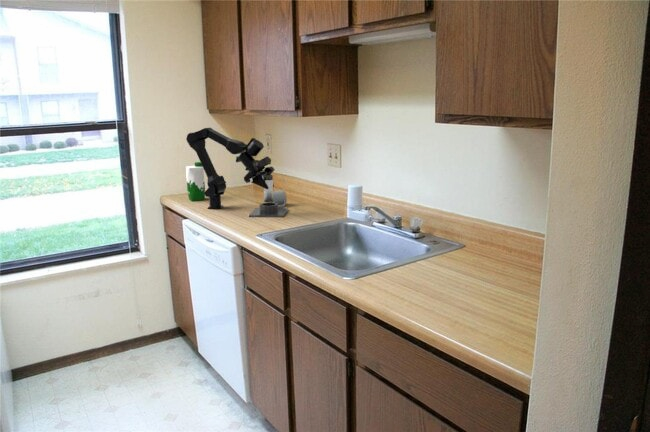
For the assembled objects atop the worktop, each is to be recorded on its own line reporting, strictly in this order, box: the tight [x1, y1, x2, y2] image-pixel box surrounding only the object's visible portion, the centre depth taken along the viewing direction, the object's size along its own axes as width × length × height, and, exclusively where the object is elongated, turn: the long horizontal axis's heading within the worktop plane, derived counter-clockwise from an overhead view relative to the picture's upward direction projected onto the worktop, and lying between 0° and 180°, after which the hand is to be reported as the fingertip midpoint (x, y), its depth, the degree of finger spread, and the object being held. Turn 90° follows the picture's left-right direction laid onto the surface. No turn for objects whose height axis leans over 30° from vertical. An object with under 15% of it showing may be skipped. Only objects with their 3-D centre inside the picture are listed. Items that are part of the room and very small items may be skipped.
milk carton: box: [185, 161, 206, 202], centre depth 276 cm, size 9×9×20 cm
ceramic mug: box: [268, 189, 288, 208], centre depth 260 cm, size 11×8×8 cm
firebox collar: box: [248, 202, 289, 218], centre depth 243 cm, size 16×16×4 cm
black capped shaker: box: [263, 174, 274, 203], centre depth 241 cm, size 4×4×12 cm
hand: (270, 187), depth 240 cm, fingers closed on black capped shaker, 4 cm apart
